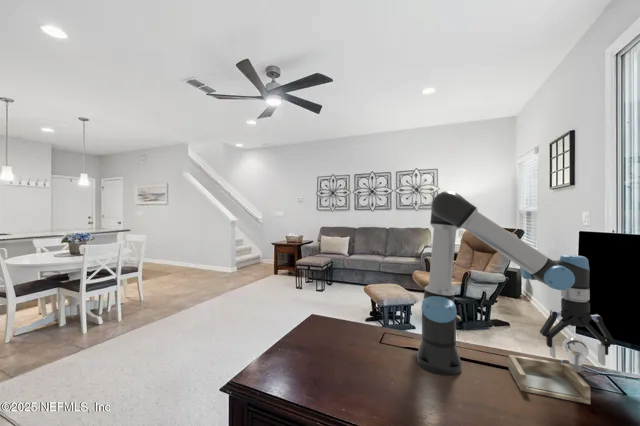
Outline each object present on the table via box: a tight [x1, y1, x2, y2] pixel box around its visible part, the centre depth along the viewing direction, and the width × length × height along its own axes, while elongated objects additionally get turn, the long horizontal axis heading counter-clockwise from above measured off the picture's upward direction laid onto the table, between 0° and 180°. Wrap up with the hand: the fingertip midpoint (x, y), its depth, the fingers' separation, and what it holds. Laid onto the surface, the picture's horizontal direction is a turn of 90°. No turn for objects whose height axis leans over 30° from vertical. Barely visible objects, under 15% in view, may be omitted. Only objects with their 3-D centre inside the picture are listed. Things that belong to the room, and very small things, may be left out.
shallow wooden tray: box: [508, 354, 591, 405], centre depth 90 cm, size 17×14×5 cm
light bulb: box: [561, 336, 590, 374], centre depth 98 cm, size 7×7×12 cm
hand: (576, 360), depth 97 cm, fingers open, 13 cm apart
